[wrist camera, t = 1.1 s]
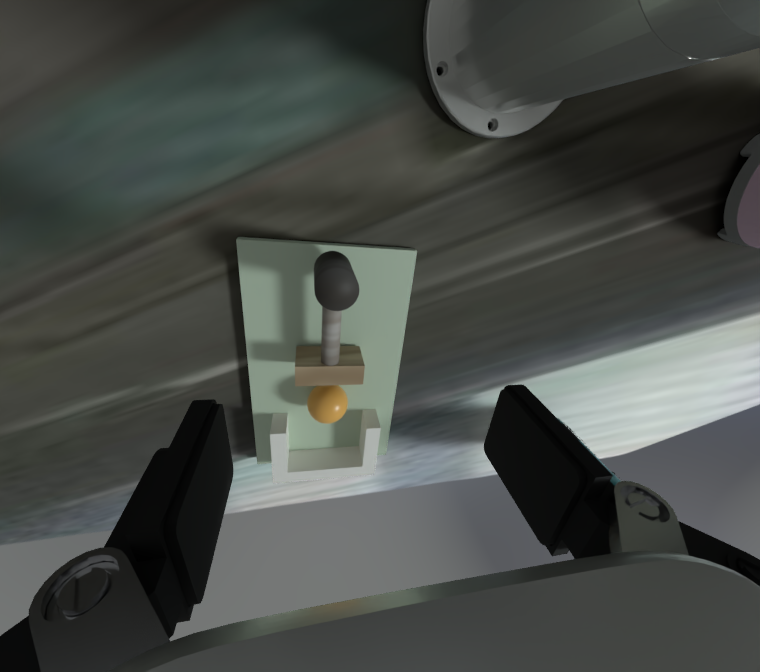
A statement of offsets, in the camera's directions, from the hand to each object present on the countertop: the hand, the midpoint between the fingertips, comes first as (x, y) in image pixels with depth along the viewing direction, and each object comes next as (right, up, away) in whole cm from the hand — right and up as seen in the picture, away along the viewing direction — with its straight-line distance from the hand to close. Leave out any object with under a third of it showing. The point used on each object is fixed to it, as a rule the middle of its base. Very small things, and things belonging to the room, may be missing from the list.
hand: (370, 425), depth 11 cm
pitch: (-5, 0, +23) cm, 23 cm away
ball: (-5, -4, +21) cm, 22 cm away
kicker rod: (-4, +5, +18) cm, 20 cm away
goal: (-6, -8, +26) cm, 28 cm away
